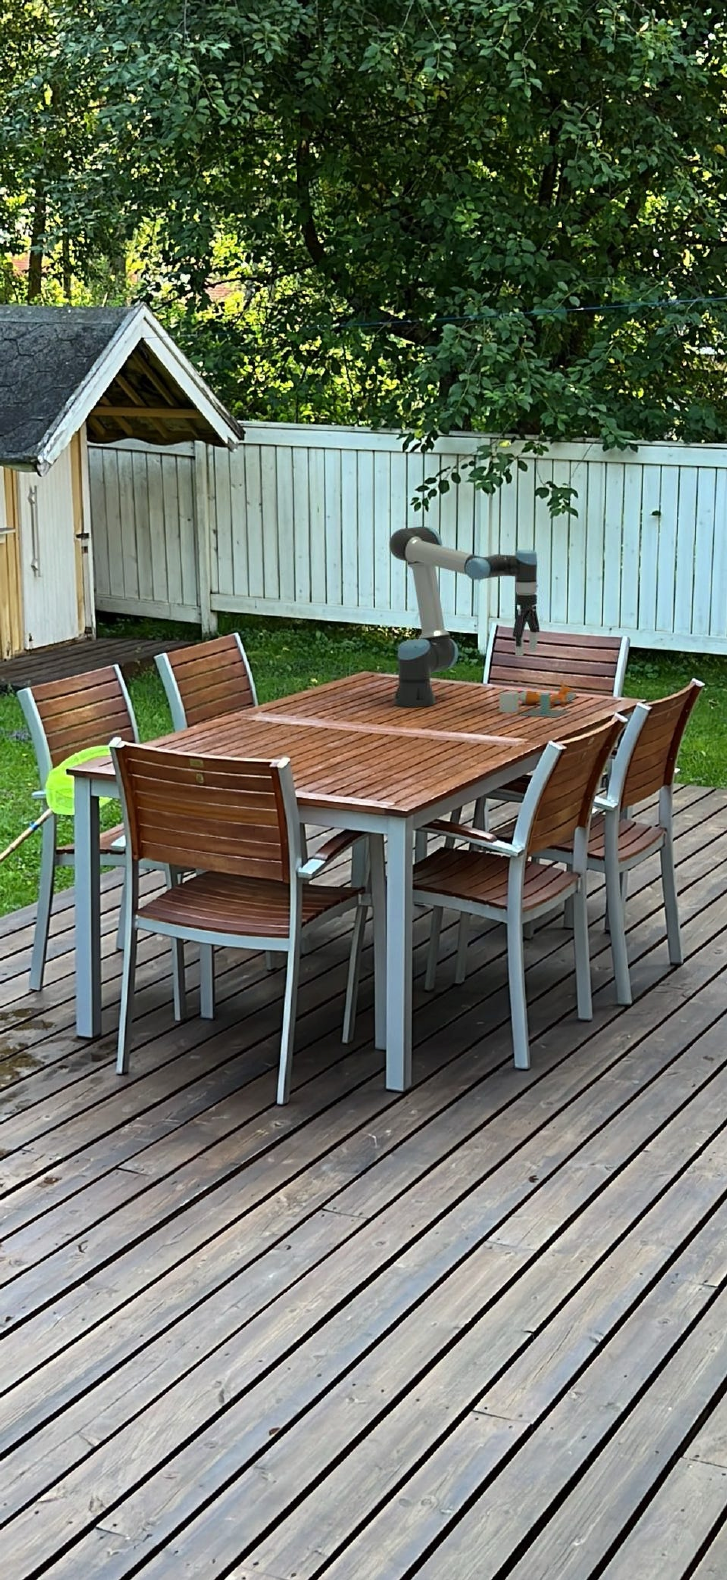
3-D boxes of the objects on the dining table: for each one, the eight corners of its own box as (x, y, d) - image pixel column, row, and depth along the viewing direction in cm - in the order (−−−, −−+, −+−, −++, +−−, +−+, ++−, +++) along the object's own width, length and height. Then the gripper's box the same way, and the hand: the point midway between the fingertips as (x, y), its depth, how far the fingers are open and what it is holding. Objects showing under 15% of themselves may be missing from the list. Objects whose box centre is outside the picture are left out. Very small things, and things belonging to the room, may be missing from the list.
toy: (578, 693, 650) (575, 679, 663) (516, 694, 651) (514, 680, 664) (578, 714, 653) (574, 700, 667) (516, 715, 654) (514, 701, 668)
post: (540, 713, 638) (540, 694, 637) (543, 712, 640) (543, 693, 639) (547, 714, 637) (547, 694, 635) (549, 713, 639) (549, 693, 638)
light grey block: (499, 711, 644) (499, 693, 643) (505, 709, 649) (505, 691, 647) (512, 712, 642) (512, 694, 640) (518, 710, 646) (518, 692, 645)
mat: (519, 715, 636) (519, 714, 636) (534, 709, 648) (534, 708, 648) (555, 717, 629) (555, 717, 629) (570, 711, 641) (570, 710, 641)
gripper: (523, 597, 628) (523, 657, 632) (548, 590, 649) (548, 648, 654) (503, 597, 631) (503, 657, 635) (529, 589, 653) (529, 647, 657)
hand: (526, 652), depth 645 cm, fingers open, 13 cm apart
